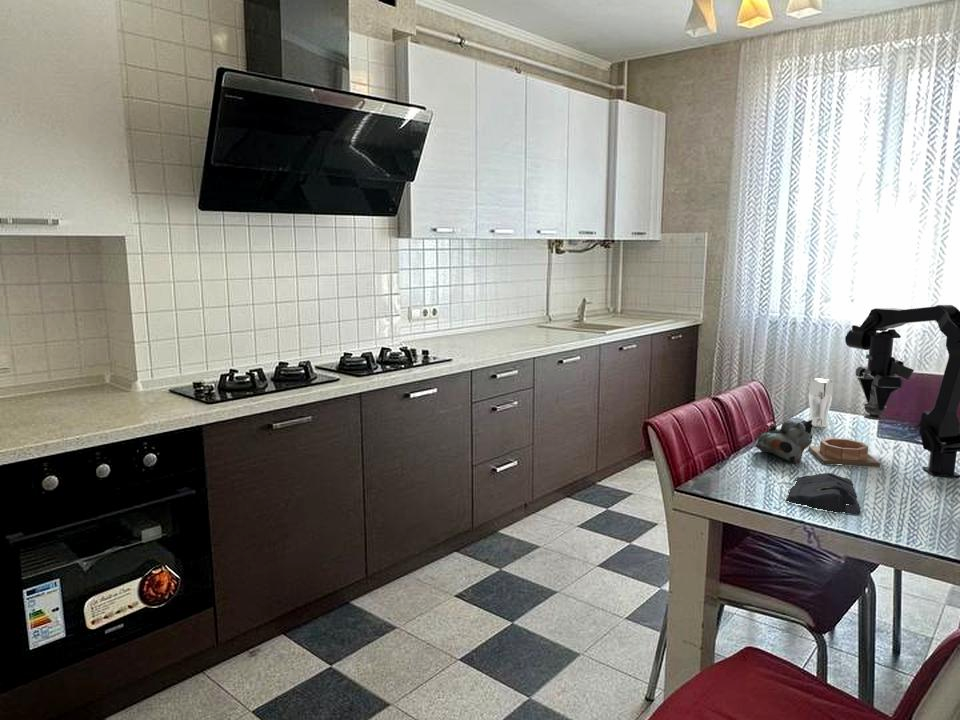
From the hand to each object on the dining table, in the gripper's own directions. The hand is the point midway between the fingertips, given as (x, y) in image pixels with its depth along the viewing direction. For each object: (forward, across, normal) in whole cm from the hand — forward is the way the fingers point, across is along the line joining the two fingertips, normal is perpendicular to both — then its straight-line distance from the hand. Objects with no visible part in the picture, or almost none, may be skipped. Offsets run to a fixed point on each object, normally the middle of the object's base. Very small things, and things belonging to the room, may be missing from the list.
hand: (875, 406), depth 201 cm
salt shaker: (+4, 0, 0) cm, 4 cm away
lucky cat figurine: (+13, -13, +28) cm, 33 cm away
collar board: (+13, -11, +11) cm, 20 cm away
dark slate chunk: (+14, -44, +25) cm, 53 cm away
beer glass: (+13, +27, +7) cm, 31 cm away
